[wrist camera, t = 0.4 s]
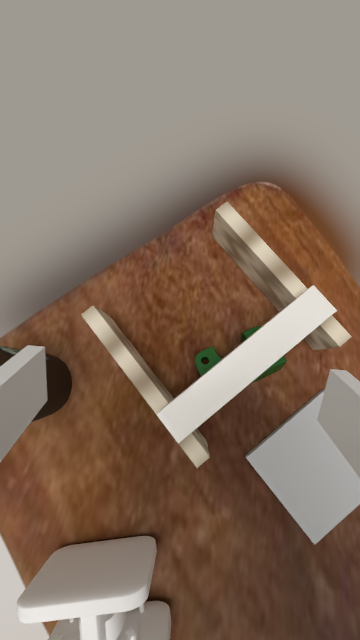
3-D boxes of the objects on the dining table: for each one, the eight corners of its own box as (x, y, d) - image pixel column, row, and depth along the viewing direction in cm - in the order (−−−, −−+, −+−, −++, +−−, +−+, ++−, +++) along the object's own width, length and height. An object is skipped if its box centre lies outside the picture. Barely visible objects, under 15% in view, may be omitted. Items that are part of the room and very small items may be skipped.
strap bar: (327, 314, 37) (336, 310, 35) (179, 438, 36) (178, 443, 33) (305, 290, 38) (313, 285, 35) (158, 411, 36) (156, 414, 34)
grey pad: (391, 468, 42) (395, 471, 41) (311, 540, 41) (314, 544, 40) (321, 389, 44) (324, 389, 43) (244, 455, 43) (245, 457, 42)
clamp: (246, 347, 50) (273, 320, 42) (264, 380, 47) (296, 357, 40) (183, 368, 45) (200, 341, 37) (199, 405, 42) (221, 385, 35)
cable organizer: (163, 528, 42) (152, 590, 30) (172, 614, 40) (165, 713, 28) (58, 542, 42) (8, 608, 30) (64, 627, 40) (12, 731, 29)
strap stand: (323, 342, 45) (351, 336, 37) (196, 449, 43) (197, 468, 35) (221, 228, 48) (227, 201, 40) (99, 323, 47) (81, 314, 39)
